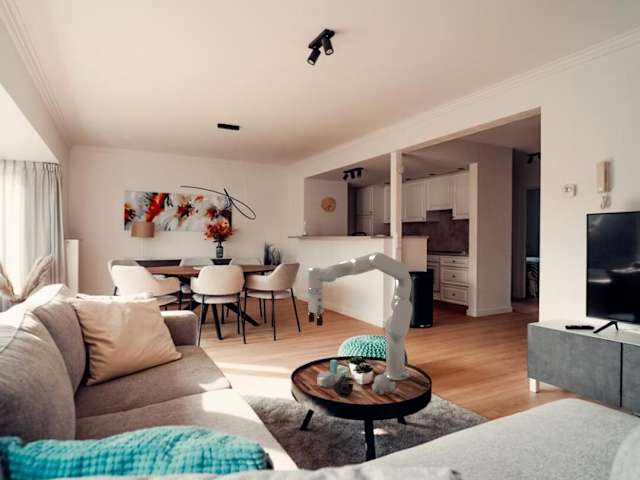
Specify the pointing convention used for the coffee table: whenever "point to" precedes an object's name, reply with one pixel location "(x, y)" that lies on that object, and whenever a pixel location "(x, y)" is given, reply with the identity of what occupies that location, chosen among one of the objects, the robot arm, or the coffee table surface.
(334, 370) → the slip tube
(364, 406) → the coffee table surface
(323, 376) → the sleeve
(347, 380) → the end cap
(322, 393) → the coffee table surface
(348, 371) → the socket block
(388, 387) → the chubby cartoon animal
